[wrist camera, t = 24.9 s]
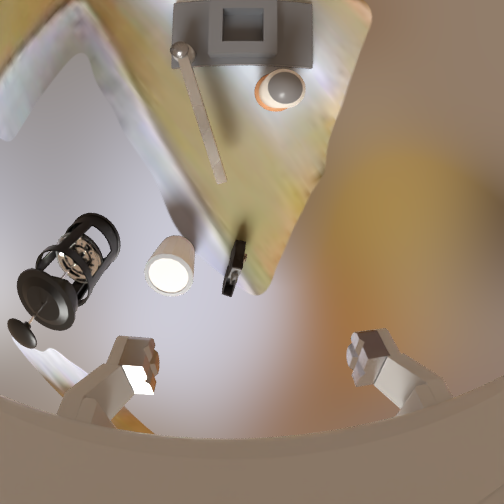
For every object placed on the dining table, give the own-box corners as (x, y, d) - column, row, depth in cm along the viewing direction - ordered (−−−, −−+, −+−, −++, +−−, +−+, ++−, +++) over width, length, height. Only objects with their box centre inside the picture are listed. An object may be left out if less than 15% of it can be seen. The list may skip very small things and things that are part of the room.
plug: (252, 110, 35) (259, 111, 24) (253, 76, 32) (259, 62, 22) (289, 111, 35) (310, 113, 25) (290, 78, 33) (311, 66, 22)
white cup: (158, 227, 42) (145, 249, 35) (202, 236, 43) (197, 260, 37) (153, 266, 45) (142, 291, 39) (195, 274, 46) (189, 301, 40)
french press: (72, 203, 39) (-21, 283, 18) (123, 215, 40) (45, 312, 20) (72, 265, 44) (5, 358, 24) (118, 278, 46) (64, 385, 25)
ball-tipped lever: (172, 48, 26) (168, 44, 25) (188, 42, 26) (185, 38, 24) (214, 182, 35) (213, 186, 33) (230, 178, 35) (230, 182, 33)
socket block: (173, 69, 31) (165, 64, 27) (175, 5, 26) (168, -5, 23) (310, 69, 32) (318, 64, 28) (310, 6, 27) (318, -4, 24)
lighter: (238, 268, 49) (234, 300, 46) (225, 266, 48) (220, 297, 45) (251, 242, 41) (246, 279, 38) (235, 239, 41) (230, 276, 38)
